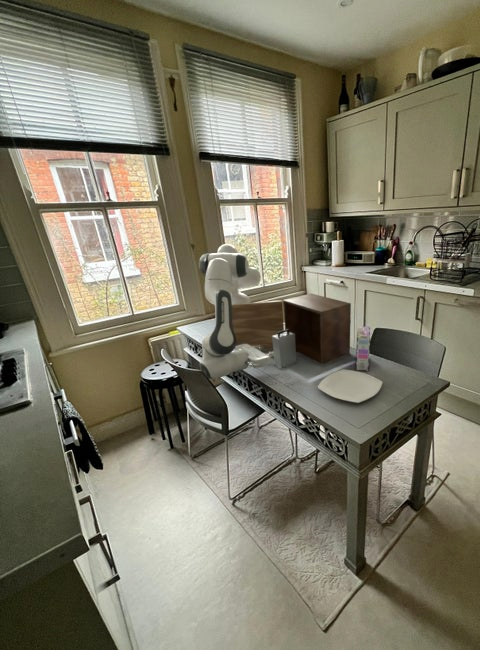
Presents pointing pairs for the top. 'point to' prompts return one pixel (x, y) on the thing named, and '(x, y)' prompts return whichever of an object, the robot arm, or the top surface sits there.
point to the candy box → (363, 348)
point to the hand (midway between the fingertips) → (267, 350)
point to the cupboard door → (257, 323)
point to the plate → (350, 386)
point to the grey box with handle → (284, 348)
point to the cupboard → (319, 326)
